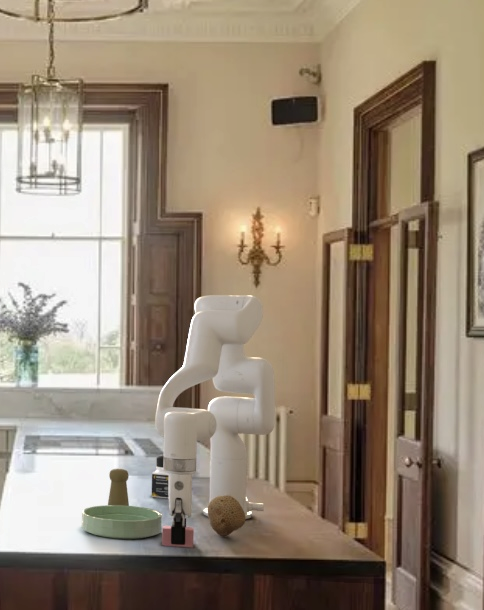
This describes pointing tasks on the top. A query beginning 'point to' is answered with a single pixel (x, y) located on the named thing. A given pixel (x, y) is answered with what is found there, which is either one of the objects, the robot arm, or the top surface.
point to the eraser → (188, 537)
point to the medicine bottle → (160, 480)
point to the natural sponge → (225, 515)
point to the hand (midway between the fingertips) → (178, 539)
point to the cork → (118, 487)
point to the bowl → (121, 521)
